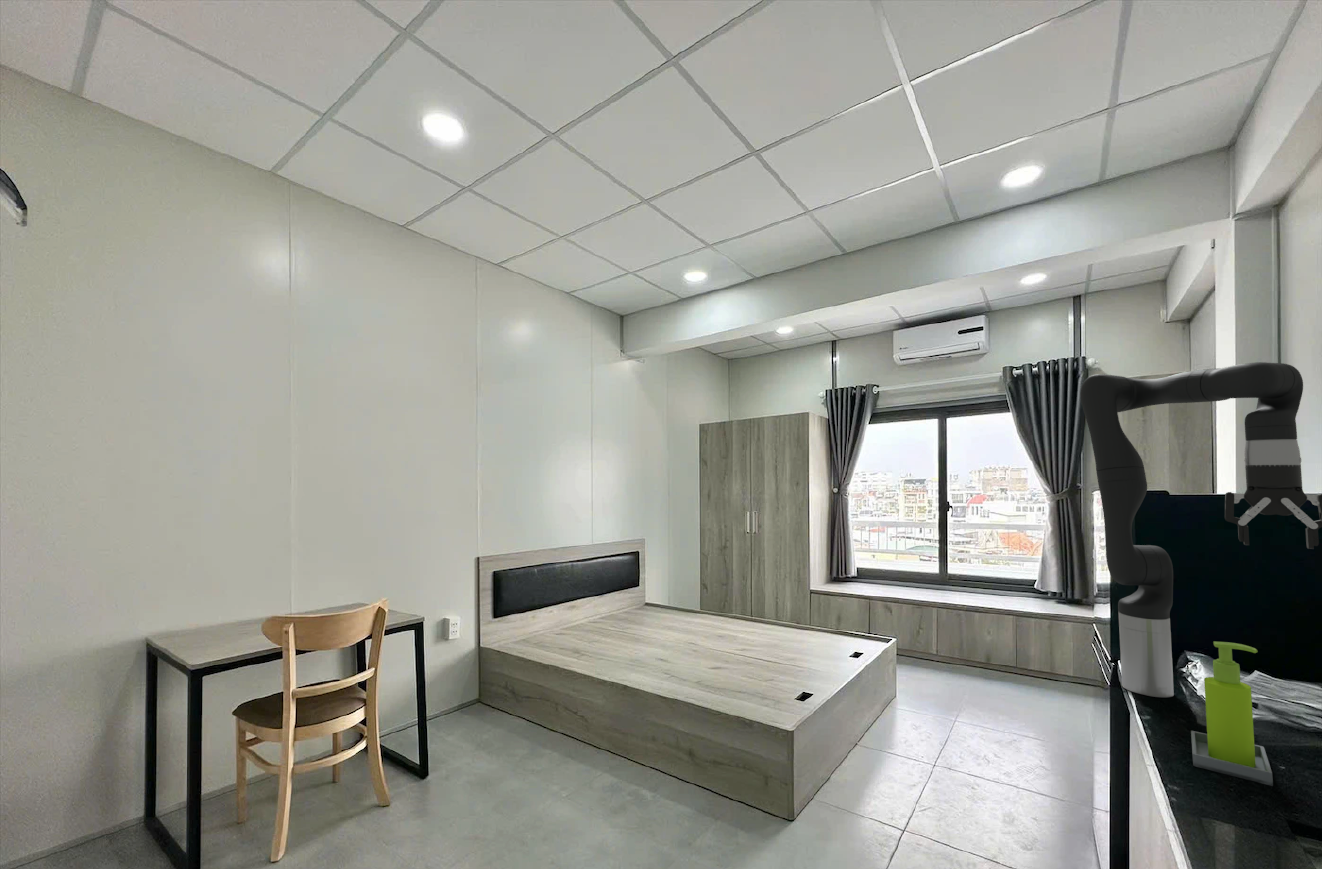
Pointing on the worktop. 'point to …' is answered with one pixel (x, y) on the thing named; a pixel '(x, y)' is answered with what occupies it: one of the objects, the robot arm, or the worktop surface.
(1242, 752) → the soap dispenser
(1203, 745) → the tray
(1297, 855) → the worktop surface
